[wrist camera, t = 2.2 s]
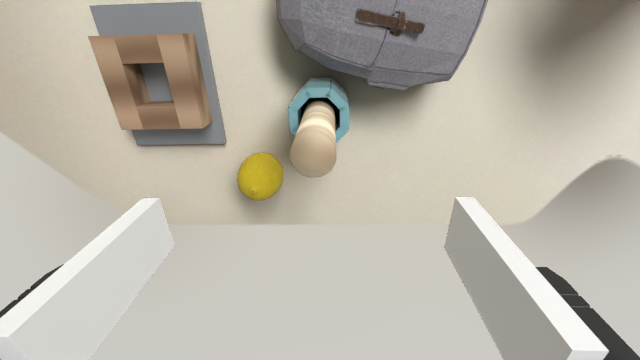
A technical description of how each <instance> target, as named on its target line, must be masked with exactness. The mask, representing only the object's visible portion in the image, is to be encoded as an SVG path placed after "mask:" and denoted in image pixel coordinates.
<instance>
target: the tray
mask: <svg viewBox="0 0 640 360" xmlns="http://www.w3.org/2000/svg"><path fill="white" fill-rule="evenodd" d="M90 9H91V12H92V15H93V18H94V21H95V23H96V26H97V29H98V32H99V35H100V36H117V35H148V34H179V33H188V34H195V38H196V43H197V48H198V53H199V58H200V62H201V67H202V72H203V77H204V82H205V87H206V92H207V97H208V102H209V106H210V111H211V116H212V121H213V122H211V123H210V124H209V125H207V126H206V127H204V128H200V129H138V130H132V131H133V134H134V137H135V140H136V143H137V145H165V144H225V143H226V142H227V141H226V136H225V131H224V125H223V120H222V115H221V109H220V104H219V99H218V93H217V88H216V83H215V78H214V72H213V67H212V62H211V56H210V51H209V46H208V40H207V35H206V30H205V24H204V19H203V14H202V9H201V3H200V2H175V3H149V4H123V5H96V6H90ZM140 66H141V69H142V73H143V76H144V80H145V83H146V86H147V90H148V93H149V96H150V100H151V101H173V97H172V93H171V89H170V85H169V81H168V78H167V74H166V70H165V66H164V63H140Z"/></svg>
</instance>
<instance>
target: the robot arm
mask: <svg viewBox="0 0 640 360" xmlns="http://www.w3.org/2000/svg"><path fill="white" fill-rule="evenodd" d="M174 247H175V245H174V241H173V238H172V235H171V233H170V230H169V226H168V223H167V220H166V217H165V214H164V211H163V208H162V205H161V202H160V199H159V198H142V199H141V200H140V201H139V202H138V203H137V204H135V205H134V206H133V207H132V208H131V209H129V210H128V211H127V212H126V213H125V214H123V215H122V216H121V217H120V218H119V219H118V220H116V221H115V222H114V223H113V224H112V225H110V226H109V227H108V228H107V229H106V230H104V231H103V232H102V233H101V234H100V235H98V236H97V237H96V238H95V239H94V240H93V241H91V242H90V243H89V244H88V245H87V246H85V247H84V248H83V249H82V250H81V251H80V252H78V253H77V254H76V255H75V256H74V257H72V258H71V259H70V260H69V261H68V262H66V263H65V264H63V265H61V266H59V267H58V268H56V269H54V270H52V271H51V272H49V273H47V274H46V275H44V276H43V277H42V278H41V279H39V280H38V281H37V282H36V283H35V284H33V285H32V286H31V288H30V289H28V290H26V291H25V292H24V293H22V294H21V295H20V296H19V297H18V299H17V300H14V301H13V302H11V303H10V304H9V305H8V306H7V307H5V308H4V309H3V310H2V311H1V312H0V360H89V358H90V357H91V356H92V354H93V353H94V352H95V350H96V349H97V348H98V346H99V345H100V344H101V343H102V341H103V340H104V339H105V337H106V336H107V335H108V333H109V332H110V331H111V329H112V328H113V327H114V325H115V324H116V323H117V322H118V320H119V319H120V318H121V316H122V315H123V314H124V312H125V311H126V310H127V308H128V307H129V306H130V304H131V303H132V302H133V301H134V299H135V298H136V297H137V295H138V294H139V292H140V291H141V290H142V289H143V287H144V286H145V285H146V283H147V282H148V281H149V279H150V278H151V277H152V276H153V274H154V273H155V272H156V270H157V269H158V268H159V266H160V265H161V264H162V262H163V261H164V260H165V258H166V257H167V256H168V255H169V253H170V252H171V251H172V249H173V248H174ZM444 248H445V250H446V252H447V254H448V255H449V257H450V259H451V261H452V263H453V265H454V267H455V269H456V271H457V272H458V274H459V276H460V278H461V280H462V282H463V284H464V286H465V287H466V289H467V291H468V293H469V295H470V297H471V299H472V301H473V303H474V304H475V306H476V308H477V310H478V312H479V314H480V316H481V318H482V320H483V322H484V323H485V325H486V327H487V329H488V331H489V333H490V335H491V337H492V338H493V340H494V342H495V344H496V346H497V348H498V350H499V352H500V354H501V355H502V357H503V359H504V360H640V357H639V356H638V355H637V354H636V353H635V352H634V351H633V350H632V349H631V348H630V347H629V346H628V345H627V344H626V343H625V342H624V341H623V340H622V339H621V338H620V336H619V335H617V333H616V332H615V331H614V330H613V329H612V328H611V327H610V326H609V325H608V324H607V323H606V322H605V321H604V320H603V319H602V318H601V317H600V316H599V315H598V314H597V313H596V312H595V311H594V309H593V308H590V306H589V304H588V303H587V302H586V301H585V300H584V299H583V298H582V297H581V296H578V293H577V292H576V291H575V290H574V289H573V288H572V286H571V285H570V284H569V283H568V282H567V281H566V280H564V279H563V278H562V277H560V276H559V275H557V274H556V273H554V272H553V271H551V270H550V269H549V268H547V267H535V266H534V265H533V264H532V263H531V262H530V261H529V260H528V259H527V257H526V256H525V255H524V254H523V253H522V252H521V251H520V249H519V248H518V247H517V246H516V245H515V244H514V243H513V242H512V241H511V239H510V238H509V237H508V236H507V235H506V234H505V232H504V231H503V230H502V229H501V228H500V227H499V226H498V224H497V223H496V222H495V221H494V220H493V219H492V218H491V216H490V215H489V214H488V213H487V212H486V211H485V210H484V209H483V207H482V206H481V205H480V204H479V203H478V202H477V201H476V199H475V198H474V197H455V201H454V206H453V210H452V215H451V219H450V224H449V229H448V233H447V238H446V243H445V247H444Z"/></svg>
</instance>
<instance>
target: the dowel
mask: <svg viewBox="0 0 640 360" xmlns="http://www.w3.org/2000/svg"><path fill="white" fill-rule="evenodd" d="M290 161H291V163H292V165H293V167H294V168H295V170H296V171H297V172H299V173H300V174H302V175H304V176H307V177H320V176H323V175H325V174H327V173H328V172H329V171H330V170H331V169H332V168H333V166H334V165H335V162H336V134H335V104H334V103H333V102H332V101H331V100H330V99H329V98H327V97H319V98H309V100H308V103H307V106H306V109H305V111H304V114H303V117H302V120H301V122H300V125H299V128H298V130H297V133H296V136H295V139H294V141H293V144H292V147H291V150H290Z"/></svg>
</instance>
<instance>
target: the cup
mask: <svg viewBox="0 0 640 360" xmlns="http://www.w3.org/2000/svg"><path fill="white" fill-rule="evenodd" d="M319 97H327V98H329V99H330V100H331V101H332V102H333V103H334V104H335V134H336V143H337V142H338V141H339V140H340V139H341V138H342V137H343V136H344V135H345V134H346V133H347V132H348V130H349V103H348V99H347V95H346V92H345V91H344V90H343V89H342V88H341V86H340V85H339V84H338V83H337V82H336V81H334V80H333V79H332V78H331V77H330V78H327V77H316V78H311V79H309V80H308V81H307V82H306V83H305V84H304V85H303V87H302V88H301V89H300V90H299V91H298V92H297V94H296V95H295V97H294V99H293V100H292V102H291V103H290V105H289V107H288V113H289V125H290V131H291V133H292V134H293V135H294V136H296V133H297V130H298V128H299V125H300V122H301V120H302V117H303V114H304V111H305V109H306V106H307V103H308V100H309V98H319Z"/></svg>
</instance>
